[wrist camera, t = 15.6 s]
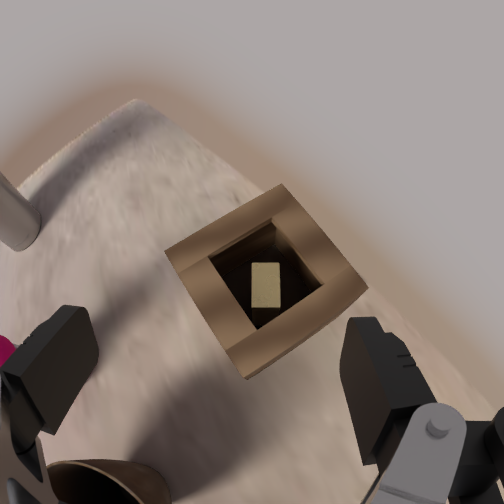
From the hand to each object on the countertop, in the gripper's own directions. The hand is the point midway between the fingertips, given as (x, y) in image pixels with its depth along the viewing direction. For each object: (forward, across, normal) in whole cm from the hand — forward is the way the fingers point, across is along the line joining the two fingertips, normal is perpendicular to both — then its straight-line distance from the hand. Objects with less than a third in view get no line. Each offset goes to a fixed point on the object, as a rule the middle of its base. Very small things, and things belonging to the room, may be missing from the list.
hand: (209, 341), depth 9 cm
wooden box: (+30, -2, +16) cm, 34 cm away
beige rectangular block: (+30, -2, +17) cm, 34 cm away
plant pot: (+10, +14, +36) cm, 40 cm away
